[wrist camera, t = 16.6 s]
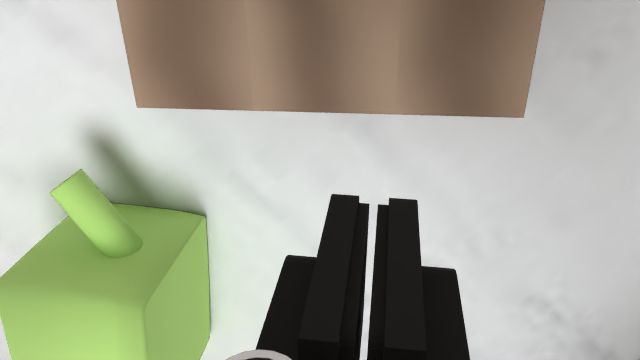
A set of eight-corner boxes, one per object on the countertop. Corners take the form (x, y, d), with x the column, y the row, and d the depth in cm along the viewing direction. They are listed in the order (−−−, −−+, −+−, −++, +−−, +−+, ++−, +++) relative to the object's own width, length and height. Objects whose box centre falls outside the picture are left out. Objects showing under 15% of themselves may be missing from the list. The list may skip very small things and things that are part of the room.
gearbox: (52, 129, 33) (-69, 204, 25) (205, 149, 32) (132, 235, 24) (91, 341, 41) (10, 450, 33) (212, 362, 40) (160, 480, 32)
